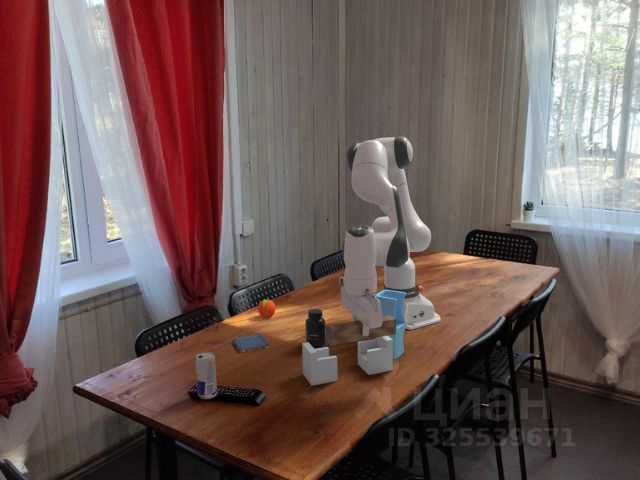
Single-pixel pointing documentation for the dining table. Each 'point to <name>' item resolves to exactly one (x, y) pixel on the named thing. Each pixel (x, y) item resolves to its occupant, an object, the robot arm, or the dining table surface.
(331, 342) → the rail
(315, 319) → the supplement bottle
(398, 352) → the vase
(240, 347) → the woven mat
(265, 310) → the clementine
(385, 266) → the robot arm
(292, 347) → the dining table surface
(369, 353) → the post
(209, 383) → the energy drink
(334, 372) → the post
